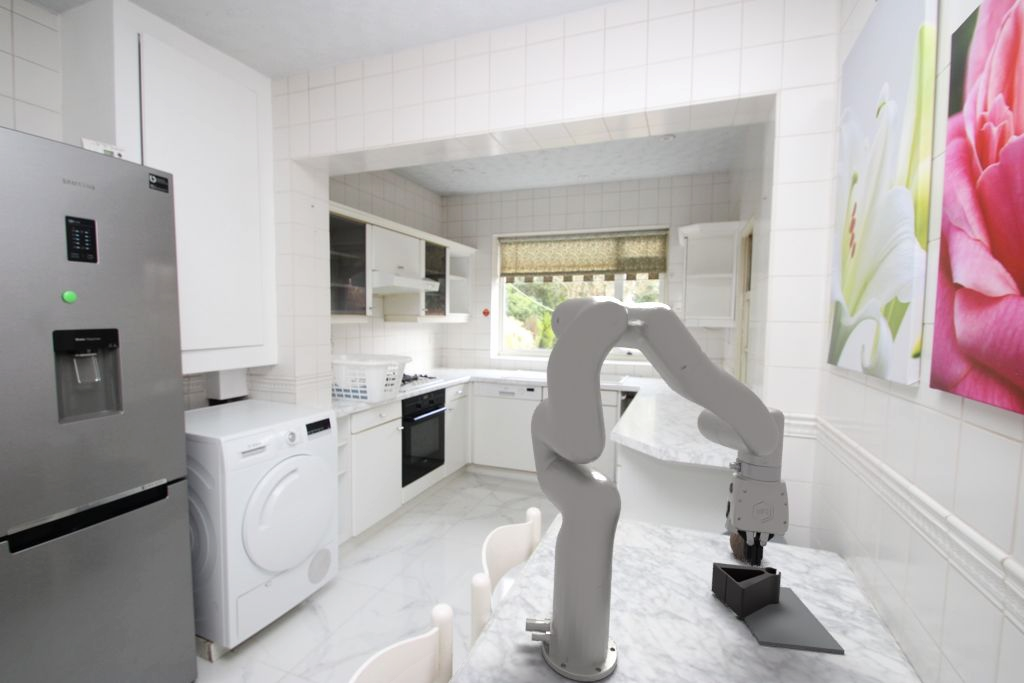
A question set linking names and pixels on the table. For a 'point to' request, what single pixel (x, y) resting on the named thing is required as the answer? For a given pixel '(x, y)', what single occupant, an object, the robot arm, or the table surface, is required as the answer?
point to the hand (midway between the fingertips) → (752, 562)
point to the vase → (737, 544)
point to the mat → (790, 625)
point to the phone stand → (745, 587)
